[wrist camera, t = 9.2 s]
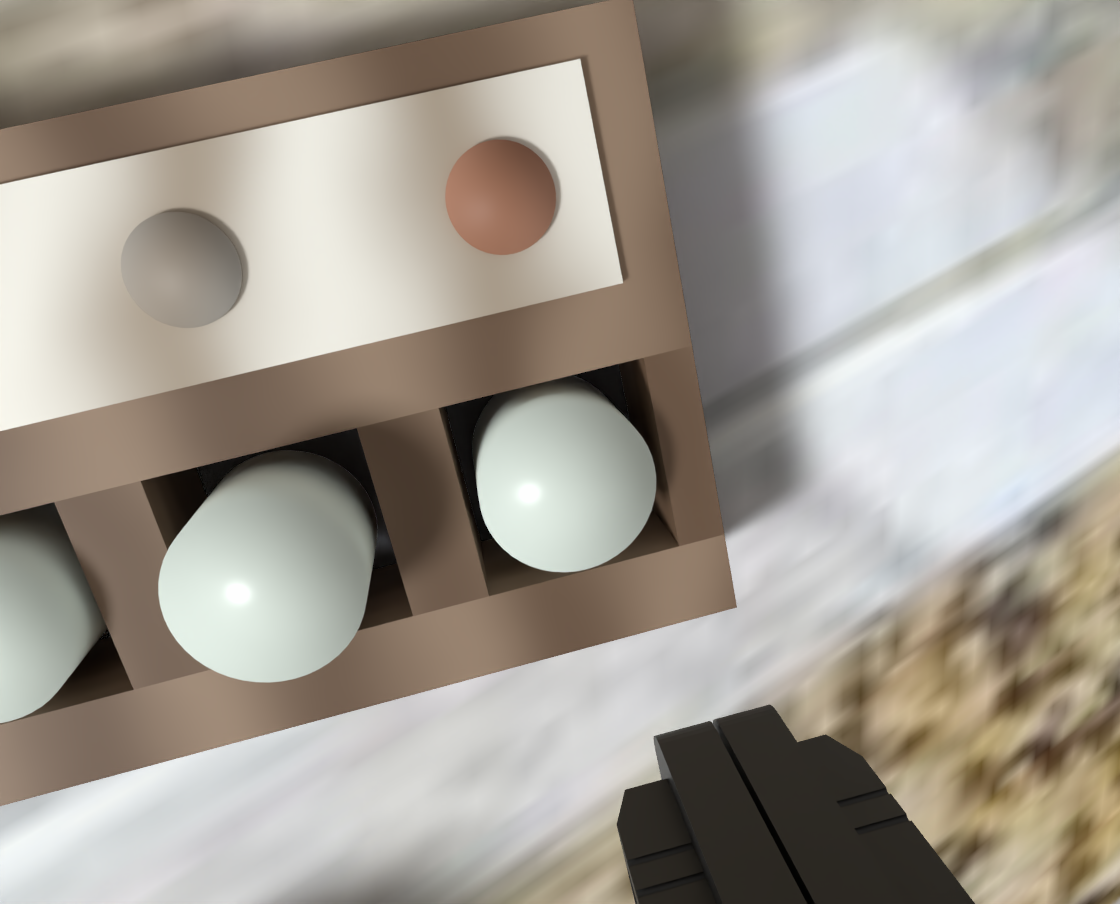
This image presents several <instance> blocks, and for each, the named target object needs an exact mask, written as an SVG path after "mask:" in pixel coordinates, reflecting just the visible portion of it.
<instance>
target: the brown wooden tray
mask: <svg viewBox="0 0 1120 904" xmlns="http://www.w3.org/2000/svg"><path fill="white" fill-rule="evenodd" d="M616 364H618V365H619V370H620V375H621V380H622V385H623V390H624V395H625V400H626V405H627V410H628V415H629V420H630V423H631V424H632V425H633V426H634V427H635V429H636V430H637V431H638V432H639V434H640V435H641V436H642V437H643V439H644V441H645V442H646V444H647V446H648V448H649V450H650V453H651V455H652V458H653V462H654V466H655V472H656V493H655V500H654V504H653V507H652V511H651V513H650V515H649V518H648V520H647V522H646V524H645V525H644V527H643V529H642V531H641V532H640V533H639V534H638V536H637V537H636V538H635V540H634V541H633V542H632V543H631V544H630V545H629V546H628V547H627V548H626V549H624V550H623V551H622V552H621V553H619V554H618V555H617V556H615V557H613V558H612V559H610V560H609V561H607V562H605V563H602V564H600V565H598V566H595V567H592V568H589V569H586V570H581V571H575V572H551V571H546V570H541V569H537V568H534V567H531V566H529V565H527V564H524V563H522V562H520V561H519V560H517V559H516V558H514V557H512V556H511V555H510V554H509V553H507V552H506V551H505V550H504V549H503V548H502V547H501V546H500V545H499V544H498V543H497V542H496V540H495V539H494V538H493V539H489V540H486V541H482V542H481V538H480V535H479V531H478V527H477V523H476V520H475V516H474V512H473V508H472V505H471V501H470V497H469V493H468V490H467V486H466V482H465V478H464V475H463V471H462V467H461V463H460V459H459V456H458V452H457V448H456V444H455V441H454V437H453V433H452V429H451V426H450V422H449V418H448V414H447V411H446V407H445V406H448V405H453V404H457V403H461V402H465V401H469V400H473V399H477V398H481V397H485V396H489V395H493V394H497V393H502V392H506V391H510V390H514V389H518V388H522V387H526V386H530V385H534V384H538V383H542V382H546V381H550V380H555V379H559V378H563V377H567V376H571V375H575V374H579V373H583V372H587V371H591V370H595V369H599V368H604V367H608V366H612V365H616ZM355 428H357V431H358V434H359V438H360V441H361V444H362V448H363V451H364V454H365V458H366V461H367V464H368V468H369V471H370V474H371V478H372V481H373V484H374V488H375V491H376V494H377V498H378V501H379V504H380V508H381V511H382V514H383V517H384V521H385V524H386V527H387V531H388V534H389V537H390V541H391V544H392V547H393V551H394V554H395V557H396V561H397V563H396V564H392V565H389V566H385V567H381V568H377V569H373V570H372V573H371V579H370V585H369V591H368V596H367V602H366V607H365V612H364V616H363V619H362V622H361V624H360V627H359V629H358V630H357V632H356V634H355V636H354V638H353V639H352V640H351V642H350V643H349V645H348V646H347V647H346V648H345V649H344V650H343V651H342V652H341V653H340V654H339V655H338V656H337V657H336V658H335V659H333V660H332V661H331V662H330V663H328V664H327V665H325V666H323V667H322V668H320V669H318V670H316V671H314V672H312V673H310V674H308V675H305V676H302V677H299V678H296V679H291V680H286V681H281V682H269V683H268V682H251V681H243V680H239V679H235V678H231V677H228V676H225V675H223V674H220V673H217V672H216V671H214V670H212V669H210V668H208V667H206V666H204V665H203V664H201V663H200V662H198V661H197V660H196V659H194V658H193V657H192V656H191V655H190V654H189V653H187V652H186V651H185V650H184V649H183V648H182V646H181V645H180V644H179V643H178V642H177V641H176V639H175V638H174V636H173V635H172V633H171V632H170V630H169V628H168V626H167V624H166V622H165V620H164V617H163V614H162V611H161V607H160V601H159V595H158V582H159V575H160V569H161V566H162V563H163V559H164V557H165V555H166V553H167V551H168V549H169V547H170V545H171V544H172V542H173V541H174V539H175V538H176V537H177V535H178V534H179V533H180V531H181V530H182V529H183V528H184V526H185V525H186V524H187V523H188V521H189V520H190V519H191V518H192V516H193V515H194V514H195V513H196V511H197V510H198V509H199V507H200V506H201V505H202V504H203V502H204V501H205V500H206V499H207V496H206V493H205V490H204V488H203V485H202V482H201V479H200V477H199V474H198V471H197V469H196V467H200V466H204V465H208V464H212V463H216V462H220V461H224V460H228V459H232V458H236V457H240V456H244V455H248V454H253V453H257V452H261V451H265V450H269V449H273V448H277V447H281V446H285V445H289V444H293V443H297V442H302V441H306V440H310V439H314V438H318V437H322V436H326V435H330V434H334V433H338V432H342V431H346V430H351V429H355ZM53 502H54V503H55V506H56V508H57V510H58V513H59V515H60V517H61V520H62V522H63V524H64V527H65V529H66V531H67V534H68V536H69V538H70V541H71V543H72V546H73V548H74V550H75V553H76V555H77V557H78V560H79V562H80V564H81V567H82V569H83V571H84V574H85V576H86V578H87V581H88V583H89V586H90V588H91V590H92V593H93V595H94V597H95V600H96V602H97V604H98V607H99V609H100V611H101V614H102V616H103V618H104V621H105V623H106V626H107V628H108V630H109V633H110V635H111V637H109V638H106V639H102V640H98V641H97V642H96V643H95V645H94V646H93V647H92V648H91V650H90V651H89V652H88V654H87V655H86V656H85V657H84V659H83V660H82V661H81V662H80V664H79V665H78V666H77V668H76V669H75V670H74V671H73V673H72V674H71V675H70V676H69V678H68V679H67V680H66V682H65V683H64V684H63V685H62V687H61V688H60V689H59V691H58V692H57V693H56V694H55V695H54V696H53V697H52V698H51V699H50V700H49V701H48V702H47V703H45V704H44V705H43V706H42V707H40V708H38V709H37V710H35V711H34V712H32V713H30V714H28V715H26V716H23V717H21V718H18V719H15V720H12V721H9V722H4V723H0V806H2V805H6V804H10V803H13V802H17V801H21V800H25V799H28V798H32V797H36V796H39V795H43V794H47V793H50V792H54V791H58V790H62V789H65V788H69V787H73V786H76V785H80V784H84V783H88V782H91V781H95V780H99V779H102V778H106V777H110V776H113V775H117V774H121V773H125V772H128V771H132V770H136V769H139V768H143V767H147V766H151V765H154V764H158V763H162V762H165V761H169V760H173V759H176V758H180V757H184V756H188V755H191V754H195V753H199V752H202V751H206V750H210V749H213V748H217V747H221V746H225V745H228V744H232V743H236V742H239V741H243V740H247V739H251V738H254V737H258V736H262V735H265V734H269V733H273V732H276V731H280V730H284V729H288V728H291V727H295V726H299V725H302V724H306V723H310V722H314V721H317V720H321V719H325V718H328V717H332V716H336V715H339V714H343V713H347V712H351V711H354V710H358V709H362V708H365V707H369V706H373V705H377V704H380V703H384V702H388V701H391V700H395V699H399V698H402V697H406V696H410V695H414V694H417V693H421V692H425V691H428V690H432V689H436V688H439V687H443V686H447V685H451V684H454V683H458V682H462V681H465V680H469V679H473V678H477V677H480V676H484V675H488V674H491V673H495V672H499V671H502V670H506V669H510V668H514V667H517V666H521V665H525V664H528V663H532V662H536V661H540V660H543V659H547V658H551V657H554V656H558V655H562V654H565V653H569V652H573V651H577V650H580V649H584V648H588V647H591V646H595V645H599V644H603V643H606V642H610V641H614V640H617V639H621V638H625V637H628V636H632V635H636V634H640V633H643V632H647V631H651V630H654V629H658V628H662V627H665V626H669V625H673V624H677V623H680V622H684V621H688V620H691V619H695V618H699V617H703V616H706V615H710V614H714V613H717V612H721V611H725V610H728V609H732V608H736V607H737V606H736V600H735V594H734V588H733V582H732V576H731V571H730V565H729V559H728V553H727V547H726V541H725V535H724V530H723V524H722V518H721V512H720V506H719V500H718V495H717V489H716V483H715V477H714V471H713V465H712V459H711V454H710V448H709V442H708V436H707V430H706V424H705V419H704V413H703V407H702V401H701V395H700V389H699V383H698V378H697V372H696V366H695V360H694V354H693V348H692V343H691V337H690V331H689V325H688V319H687V313H686V307H685V302H684V296H683V290H682V284H681V278H680V272H679V267H678V261H677V255H676V249H675V243H674V237H673V231H672V226H671V220H670V214H669V208H668V202H667V196H666V191H665V185H664V179H663V173H662V167H661V161H660V155H659V150H658V144H657V138H656V132H655V126H654V120H653V115H652V109H651V103H650V97H649V91H648V85H647V79H646V74H645V68H644V62H643V56H642V50H641V44H640V39H639V33H638V27H637V21H636V15H635V9H634V3H633V0H608V1H603V2H598V3H594V4H589V5H584V6H579V7H575V8H570V9H565V10H561V11H556V12H551V13H546V14H542V15H537V16H532V17H528V18H523V19H518V20H513V21H509V22H504V23H499V24H495V25H490V26H485V27H480V28H476V29H471V30H466V31H461V32H457V33H452V34H447V35H443V36H438V37H433V38H428V39H424V40H419V41H414V42H410V43H405V44H400V45H395V46H391V47H386V48H381V49H377V50H372V51H367V52H362V53H358V54H353V55H348V56H344V57H339V58H334V59H329V60H325V61H320V62H315V63H311V64H306V65H301V66H296V67H292V68H287V69H282V70H278V71H273V72H268V73H263V74H259V75H254V76H249V77H245V78H240V79H235V80H230V81H226V82H221V83H216V84H211V85H207V86H202V87H197V88H193V89H188V90H183V91H178V92H174V93H169V94H164V95H160V96H155V97H150V98H145V99H141V100H136V101H131V102H127V103H122V104H117V105H112V106H108V107H103V108H98V109H94V110H89V111H84V112H79V113H75V114H70V115H65V116H61V117H56V118H51V119H46V120H42V121H37V122H32V123H28V124H23V125H18V126H13V127H9V128H4V129H0V515H4V514H8V513H12V512H16V511H20V510H24V509H28V508H32V507H36V506H40V505H44V504H49V503H53Z"/></svg>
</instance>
